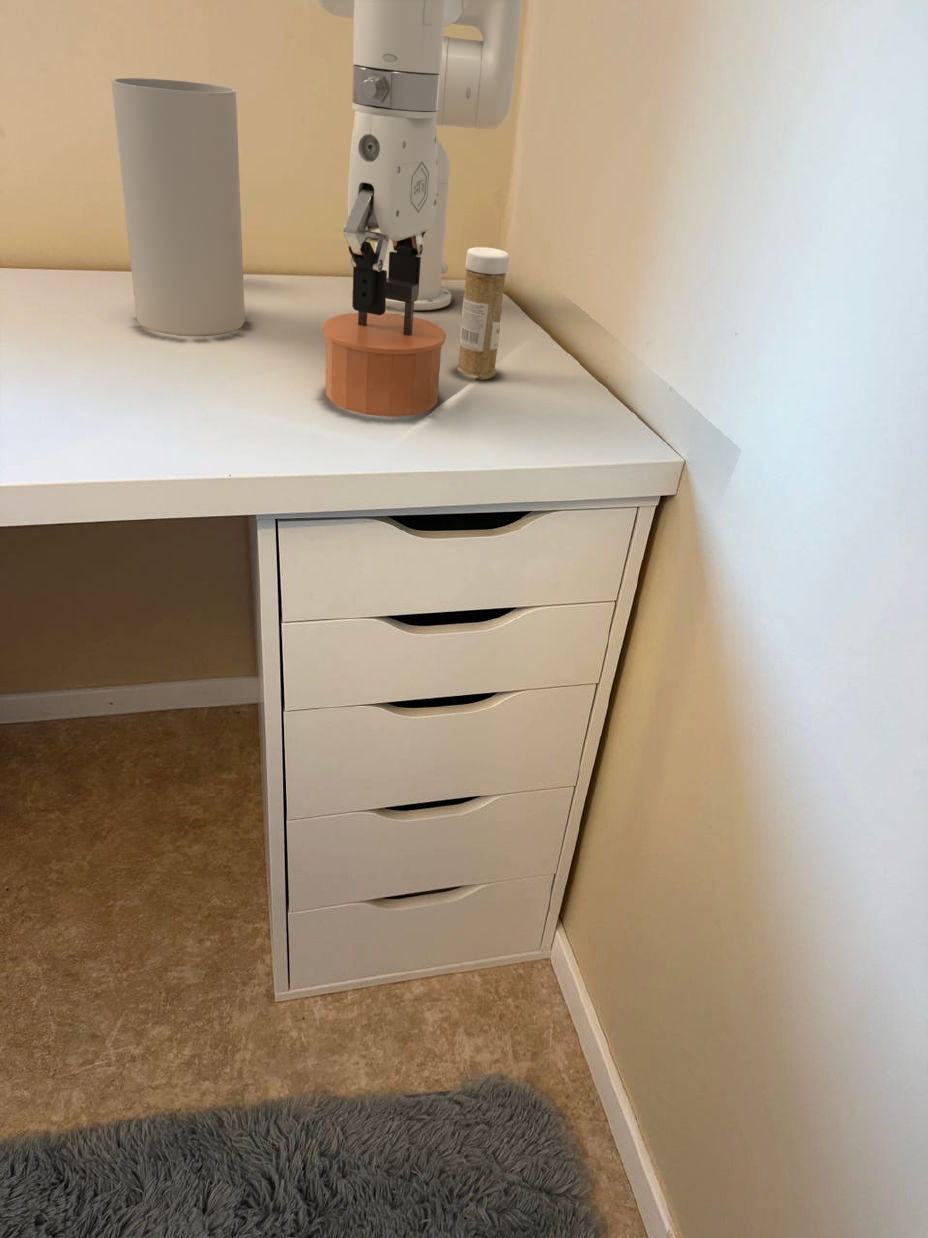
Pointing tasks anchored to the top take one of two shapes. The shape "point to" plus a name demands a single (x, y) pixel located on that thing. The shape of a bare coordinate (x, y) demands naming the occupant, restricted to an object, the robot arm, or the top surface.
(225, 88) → the cylinder vase
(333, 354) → the pot
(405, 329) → the lid
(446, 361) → the top surface
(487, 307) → the sprinkles bottle
